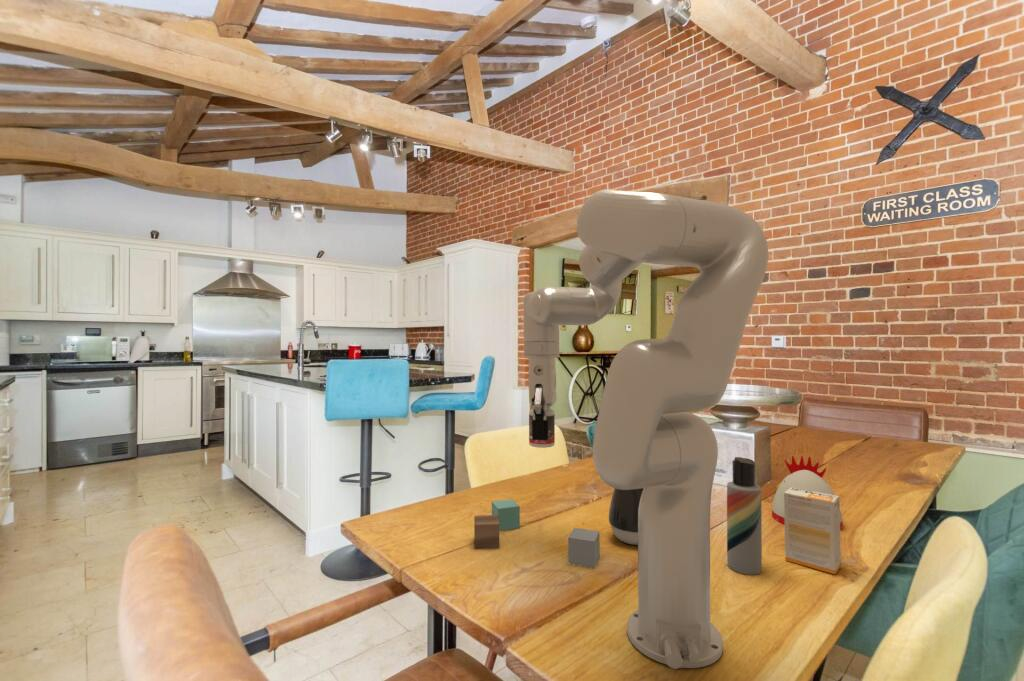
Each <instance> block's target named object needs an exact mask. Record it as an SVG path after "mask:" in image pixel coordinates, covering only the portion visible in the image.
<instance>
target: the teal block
mask: <svg viewBox="0 0 1024 681" xmlns="http://www.w3.org/2000/svg"><path fill="white" fill-rule="evenodd" d="M520 508H521V506H520V504H518V503H517V502H516V501H515V500H514V499H512V498H510V499H502V500H501V499H500V500H495V501H491V515H498V518H499V532H503V531H510V530H511V531H512V530H517V529H520V526H521V524H520V522H521V521H520V520H521V519H520V518H521V516H520V514H521V513H520V512H521V510H520Z"/></svg>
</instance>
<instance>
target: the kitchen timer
mask: <svg viewBox="0 0 1024 681" xmlns="http://www.w3.org/2000/svg"><path fill="white" fill-rule="evenodd" d="M795 459H796V458H795V457H794V455H792V456H791V463H789V462H788V461H787V460H786V459H785V460H784V463H785V465H786V467H787V469H788V471H789V474H788V475H786V477H784V478H783V479H782V481H781V482H780V483H778V484H777V485H776V488H777V489H776V492H775V495H774V497H773V500H772V507H771V517H772V518H773V520H775V521H776V522H778V523H780V524H781V525H784V526H785V513H784V492H785V491H787V490H788V489H790V488H791V487H793V488H798V489H803V490H809V491H814V492H820V493H825V494H830V495H836V494H835V492H834V491H833V489H832V487H831V486H830V484H829V483H828V482H827V481H826V480H825V479H824V478H823V476H824V475H825V473H826V471H827V467H824V469H823V470H822V471H820V472H818V468H819V464H820V463H819V461H817V462H816V463H815V464H814V465H813V464H812V460H811V456H808V458H807V462H806V464H805V461H804V458H803V455H801V457H800V460H799V463H798V464H797V462H796V460H795ZM843 521H844V520H843V515H842V511H841V510H840V531H842V529H843V526H844V524H843Z"/></svg>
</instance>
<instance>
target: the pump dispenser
mask: <svg viewBox="0 0 1024 681" xmlns="http://www.w3.org/2000/svg"><path fill="white" fill-rule="evenodd" d="M643 489H644V488H640V489H632V490H620V489H616V488H613V492H612V495H611V499H610V504H609V505H610V506H609V511H608V522H609V524H610V527H611V530H612V532H613V534H614V536H615V537H616V538H617V539H618V540H620V541H621V542H623V543H625V544H627V545H628V544H629V545H633V546H638V509H639V503H640V498H641V495H642V492H643Z"/></svg>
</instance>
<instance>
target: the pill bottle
mask: <svg viewBox="0 0 1024 681" xmlns="http://www.w3.org/2000/svg"><path fill="white" fill-rule="evenodd" d="M532 401H533V399H532ZM541 404H543V405H545V402H541ZM543 410H544V408H543ZM555 416H556V415H555V411H554V409H552V408H551V406H550V404H547V420H548V440H533V439H532V420H533V408H531V409H530V410H529V413H528V441H529V442H528V444H529V446H531V447H533V448H540V449H542V448H543V449H544V448H551V447H554V446H555V441H556V440H555V432H556V431H555V424H556V423H555V420H556V418H555Z"/></svg>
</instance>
